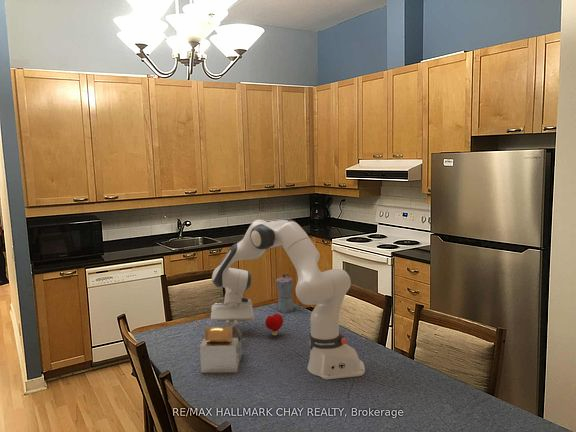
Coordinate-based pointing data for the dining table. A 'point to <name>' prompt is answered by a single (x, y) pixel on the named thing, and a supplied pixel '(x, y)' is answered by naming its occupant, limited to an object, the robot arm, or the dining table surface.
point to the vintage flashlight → (235, 330)
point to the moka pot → (285, 294)
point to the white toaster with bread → (220, 350)
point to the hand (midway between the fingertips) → (231, 329)
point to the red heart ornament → (274, 323)
